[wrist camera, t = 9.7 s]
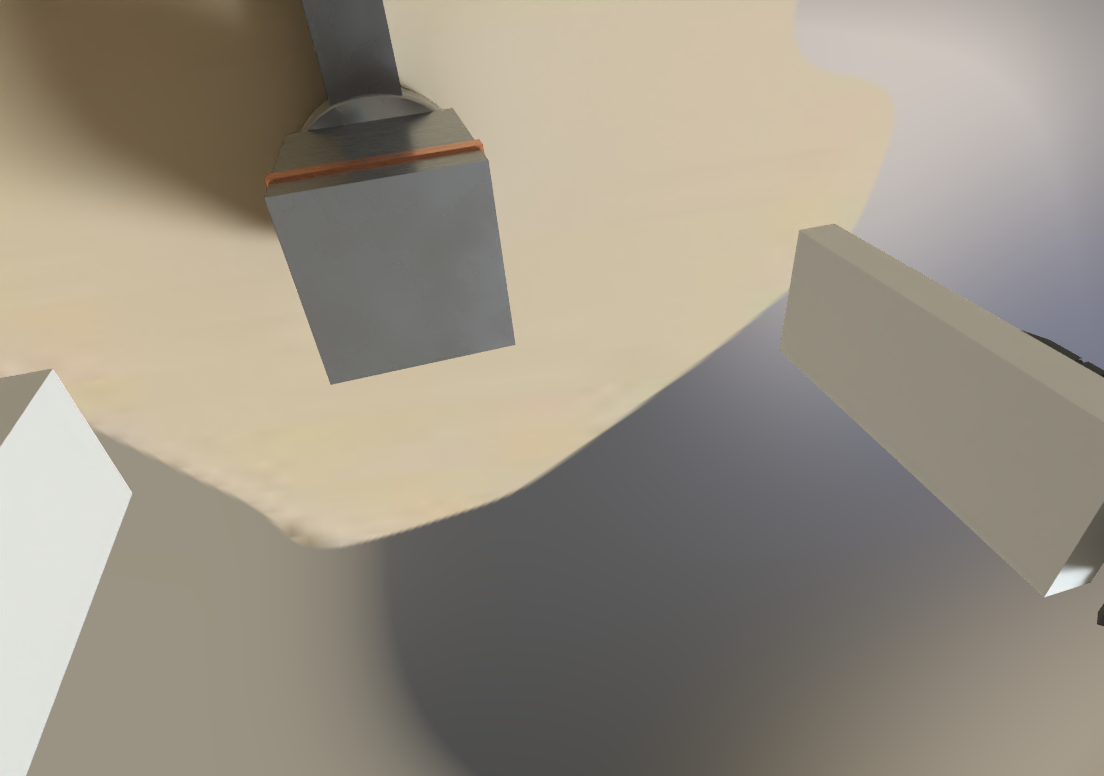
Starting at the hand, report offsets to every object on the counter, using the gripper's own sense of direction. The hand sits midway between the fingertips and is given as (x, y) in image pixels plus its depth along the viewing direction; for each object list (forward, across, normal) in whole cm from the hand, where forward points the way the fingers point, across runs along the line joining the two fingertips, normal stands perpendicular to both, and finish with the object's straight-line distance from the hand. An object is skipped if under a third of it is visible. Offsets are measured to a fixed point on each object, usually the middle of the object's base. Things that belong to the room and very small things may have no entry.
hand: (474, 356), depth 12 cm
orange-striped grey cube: (+17, -1, -2) cm, 17 cm away
